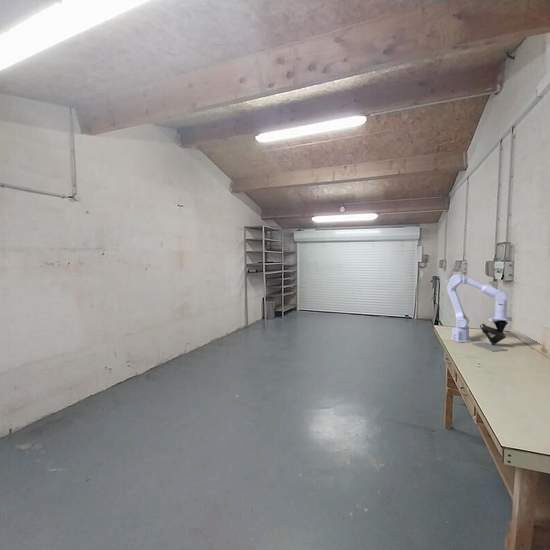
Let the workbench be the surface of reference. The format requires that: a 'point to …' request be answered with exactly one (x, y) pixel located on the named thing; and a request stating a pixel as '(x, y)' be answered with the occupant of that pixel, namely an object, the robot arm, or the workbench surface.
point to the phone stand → (498, 334)
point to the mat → (489, 346)
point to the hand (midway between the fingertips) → (500, 332)
